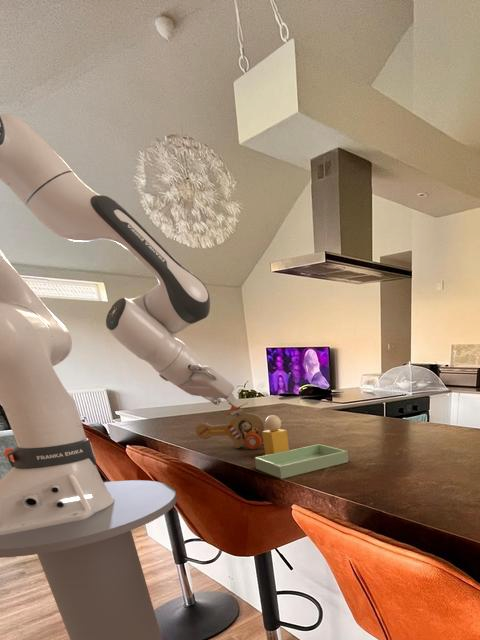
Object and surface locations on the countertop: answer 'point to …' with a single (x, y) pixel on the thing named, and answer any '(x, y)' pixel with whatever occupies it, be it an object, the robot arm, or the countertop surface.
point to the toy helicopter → (237, 429)
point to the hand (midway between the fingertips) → (227, 403)
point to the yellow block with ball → (274, 436)
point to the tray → (300, 460)
